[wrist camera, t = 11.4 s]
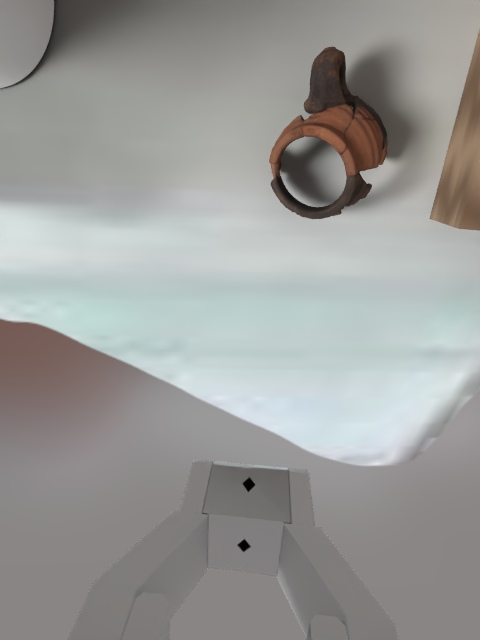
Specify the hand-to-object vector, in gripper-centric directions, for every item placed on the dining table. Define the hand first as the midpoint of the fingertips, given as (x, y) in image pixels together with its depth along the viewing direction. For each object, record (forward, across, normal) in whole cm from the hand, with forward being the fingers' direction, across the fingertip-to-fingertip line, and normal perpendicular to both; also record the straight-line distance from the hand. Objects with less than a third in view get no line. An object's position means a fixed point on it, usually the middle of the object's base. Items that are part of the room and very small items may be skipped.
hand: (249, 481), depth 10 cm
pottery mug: (+30, -4, -10) cm, 32 cm away
